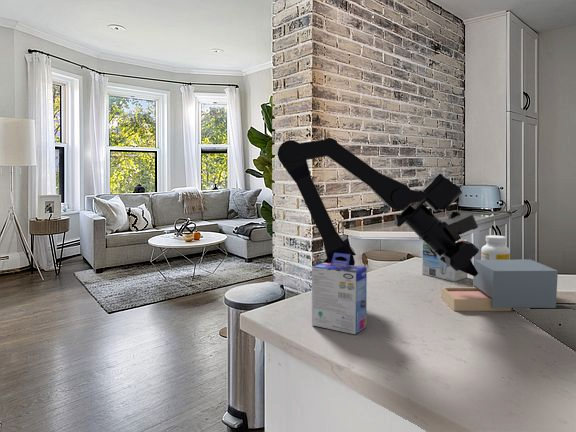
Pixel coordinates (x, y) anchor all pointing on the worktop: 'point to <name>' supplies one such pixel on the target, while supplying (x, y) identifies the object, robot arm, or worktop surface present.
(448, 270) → the light bulb box
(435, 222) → the robot arm
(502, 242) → the supplement bottle
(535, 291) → the sleeve
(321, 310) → the ink cartridge box
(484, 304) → the tray
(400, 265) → the worktop surface
